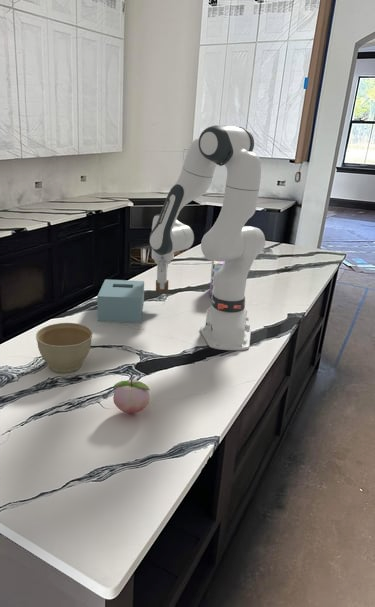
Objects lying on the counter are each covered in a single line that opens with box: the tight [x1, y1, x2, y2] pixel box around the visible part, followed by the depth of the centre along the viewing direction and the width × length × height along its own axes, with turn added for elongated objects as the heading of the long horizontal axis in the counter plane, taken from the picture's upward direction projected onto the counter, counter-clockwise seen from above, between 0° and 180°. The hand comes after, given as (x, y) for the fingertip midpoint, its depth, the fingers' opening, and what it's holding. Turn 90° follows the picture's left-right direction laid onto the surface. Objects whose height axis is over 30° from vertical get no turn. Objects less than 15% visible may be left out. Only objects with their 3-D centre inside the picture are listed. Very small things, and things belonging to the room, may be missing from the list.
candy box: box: [209, 261, 225, 300], centre depth 204 cm, size 14×6×16 cm, turn 179°
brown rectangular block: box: [155, 279, 169, 293], centre depth 184 cm, size 2×5×4 cm, turn 91°
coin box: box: [96, 279, 145, 324], centre depth 179 cm, size 20×16×10 cm
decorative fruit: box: [112, 378, 151, 414], centre depth 116 cm, size 9×8×10 cm
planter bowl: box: [35, 322, 93, 374], centre depth 136 cm, size 16×16×11 cm
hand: (162, 287), depth 184 cm, fingers closed on brown rectangular block, 2 cm apart
